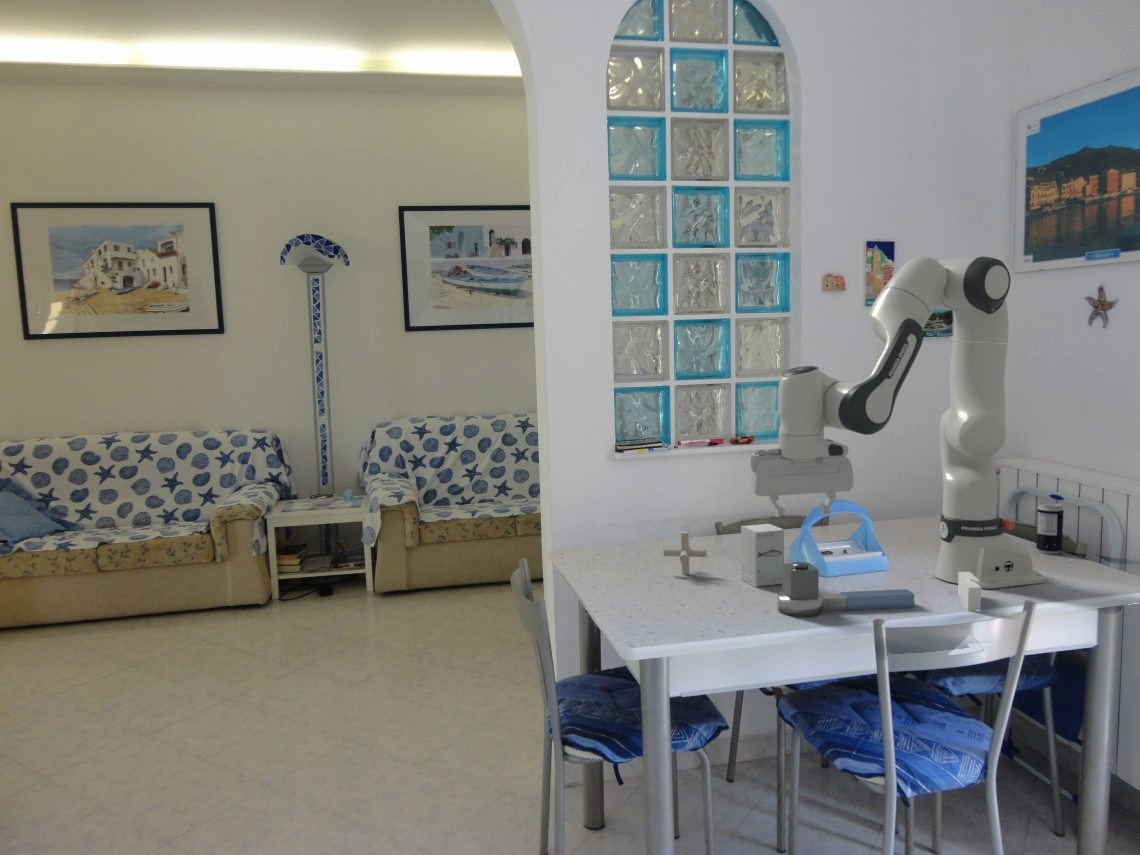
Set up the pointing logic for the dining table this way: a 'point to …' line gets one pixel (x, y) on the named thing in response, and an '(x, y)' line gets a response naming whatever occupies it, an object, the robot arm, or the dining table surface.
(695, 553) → the pipe connector
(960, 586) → the notched white block
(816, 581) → the dark grey block
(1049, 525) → the beverage can
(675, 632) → the dining table surface
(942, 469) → the robot arm
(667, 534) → the dining table surface
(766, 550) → the supplement box
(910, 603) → the ratchet
